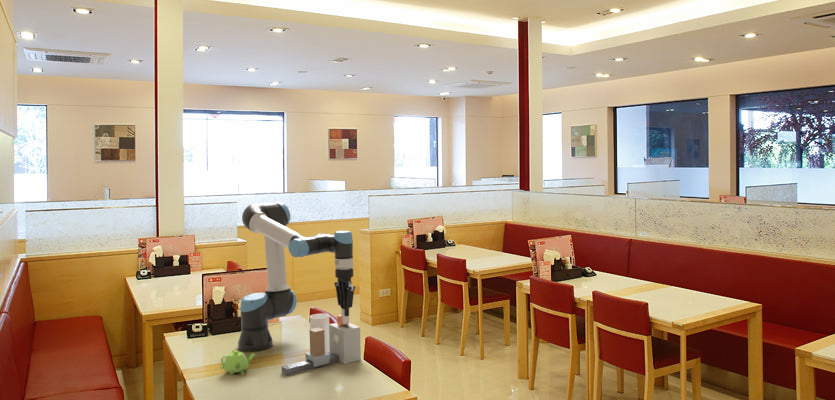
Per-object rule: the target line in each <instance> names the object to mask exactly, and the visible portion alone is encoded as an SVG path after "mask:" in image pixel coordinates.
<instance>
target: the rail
mask: <svg viewBox="0 0 835 400" xmlns="http://www.w3.org/2000/svg"><path fill="white" fill-rule="evenodd" d="M329 354H330V353H329ZM338 362H340V361H339V355H337V354H335V353H333V354H330V359H329V363H327V364H323V365H319V366H316V367H313V362H312V361H310V360H306V359H305V360H302V361H299V362H294V363H290V364H286V365H283V366H281V373H282V374H283V375H285V376H290V375H294V374H298V373H301V372H305V371H309V370H313V369H316V368H320V367H323V366H327V365H331V364H332V365H333V364H334V363H338Z"/></svg>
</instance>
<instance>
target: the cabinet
mask: <svg viewBox="0 0 835 400" xmlns="http://www.w3.org/2000/svg"><path fill="white" fill-rule="evenodd" d="M329 346H330V352H329V354H333V353H335V354H337V355H339V362H340V363H342V364H344V365H346V364H349V363H354V362H356V361H360V360H362V357H361V356H362V355H361V353H362V351H361V348H362V347H361V327H360V326H358V325H356V324H354V323H351V322H349V324H346V325H342V326H339V325H337V322H333V323H329Z"/></svg>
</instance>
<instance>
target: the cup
mask: <svg viewBox="0 0 835 400" xmlns="http://www.w3.org/2000/svg"><path fill="white" fill-rule="evenodd" d="M309 319H310V320H309V322H310V323H309V325H310V329H315V328H321V329H323V330H324V337H325V352H327V353H329V354H330V346H329V324H330V315H329V314H328V313H315V314H311V315H310V316H309ZM310 329H309V330H310Z"/></svg>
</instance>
